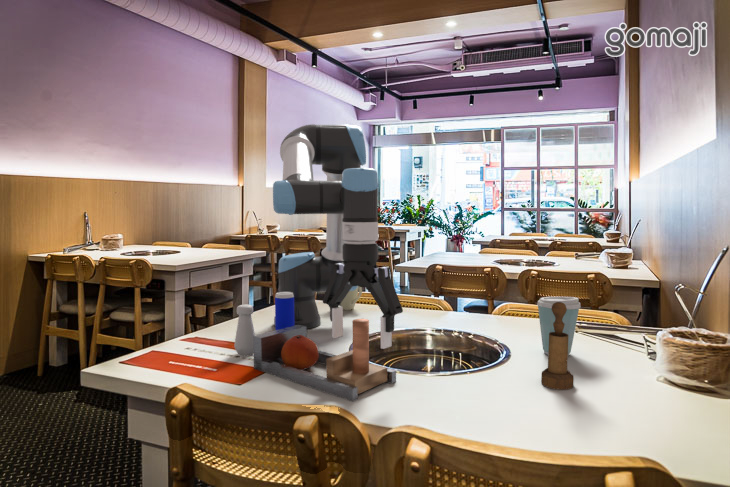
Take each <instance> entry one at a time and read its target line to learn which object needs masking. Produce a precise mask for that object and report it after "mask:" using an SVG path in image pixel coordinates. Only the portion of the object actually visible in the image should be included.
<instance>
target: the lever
mask: <svg viewBox="0 0 730 487" xmlns="http://www.w3.org/2000/svg"><path fill="white" fill-rule="evenodd" d="M351 322H352V350H349V351H345V352H342V353H340V354H336V355H337V356H334V357H331V358H328V359H326V363H327V365H326V378H330V379H333V380H336V381H339V382H343V383H346V384H349V385H353V386H356V387H358V394H362V393H363V392H366V391H369V390H370V389H373V388H376V387H377V386H379V385H381V384H384V383H387V382H386V381H387V368H388V367H386V366H382V365H378V364H374V363H372V362H371V363H370V320H369V319H368V318H367V319H366V318H355V319H353V320H351Z"/></svg>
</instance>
